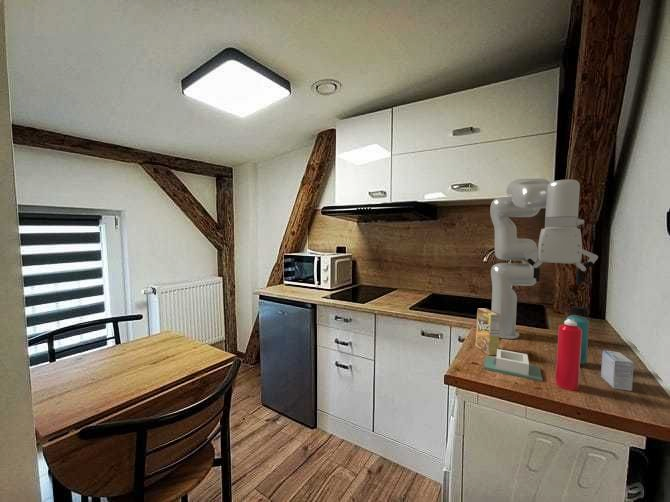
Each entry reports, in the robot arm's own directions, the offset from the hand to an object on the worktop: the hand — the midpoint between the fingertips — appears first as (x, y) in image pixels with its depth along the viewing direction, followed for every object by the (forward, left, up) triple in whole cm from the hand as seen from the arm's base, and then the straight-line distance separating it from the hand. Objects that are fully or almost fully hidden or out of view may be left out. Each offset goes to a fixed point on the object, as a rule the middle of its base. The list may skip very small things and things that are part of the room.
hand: (557, 282), depth 87 cm
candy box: (-18, -18, -31) cm, 40 cm away
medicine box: (-10, +17, -31) cm, 37 cm away
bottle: (-1, +4, -31) cm, 31 cm away
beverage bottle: (-21, +9, -31) cm, 38 cm away
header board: (-5, -10, -31) cm, 33 cm away
